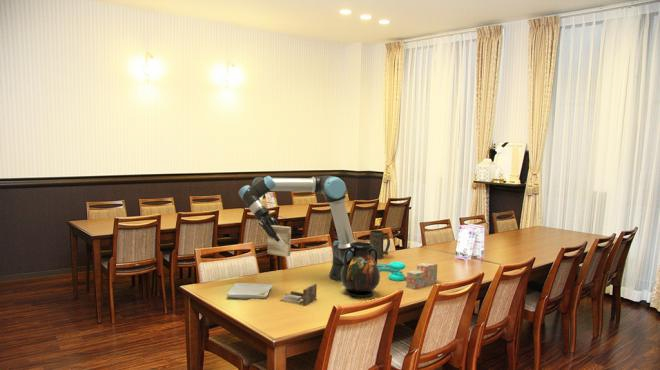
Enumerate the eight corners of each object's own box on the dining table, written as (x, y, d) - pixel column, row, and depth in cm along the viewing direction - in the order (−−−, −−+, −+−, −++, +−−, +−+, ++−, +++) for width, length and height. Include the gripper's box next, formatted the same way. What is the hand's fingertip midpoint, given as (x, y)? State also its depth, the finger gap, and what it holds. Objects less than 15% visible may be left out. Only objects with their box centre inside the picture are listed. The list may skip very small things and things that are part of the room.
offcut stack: (287, 298, 255) (287, 293, 255) (304, 302, 251) (304, 297, 251) (282, 301, 251) (282, 296, 251) (299, 304, 247) (299, 299, 247)
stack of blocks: (414, 290, 282) (415, 268, 281) (406, 287, 287) (407, 266, 286) (436, 283, 297) (437, 263, 296) (428, 281, 302) (429, 261, 301)
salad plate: (235, 288, 275) (235, 282, 275) (273, 289, 275) (273, 283, 274) (225, 300, 254) (225, 293, 254) (267, 302, 253) (267, 295, 253)
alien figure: (402, 275, 315) (396, 267, 335) (402, 271, 315) (397, 264, 335) (370, 274, 314) (367, 266, 334) (371, 271, 314) (367, 263, 334)
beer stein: (366, 258, 354) (369, 231, 353) (367, 255, 365) (370, 228, 363) (387, 261, 352) (391, 234, 350) (388, 258, 363) (391, 231, 361)
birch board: (270, 252, 265) (271, 224, 263) (290, 255, 259) (291, 227, 258) (267, 253, 261) (267, 225, 260) (286, 256, 256) (287, 228, 255)
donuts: (403, 265, 297) (387, 263, 300) (402, 282, 297) (386, 280, 301) (407, 262, 306) (391, 260, 309) (406, 278, 307) (390, 276, 310)
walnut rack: (291, 296, 263) (292, 279, 262) (317, 301, 256) (317, 284, 256) (279, 302, 252) (279, 285, 251) (305, 307, 245) (305, 290, 244)
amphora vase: (346, 301, 257) (348, 248, 255) (334, 289, 278) (336, 240, 275) (385, 299, 263) (387, 247, 261) (370, 287, 284) (372, 239, 281)
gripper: (264, 213, 273) (289, 246, 267) (246, 216, 258) (272, 252, 252) (272, 204, 270) (297, 238, 264) (254, 207, 255) (281, 243, 249)
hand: (285, 244), depth 258 cm, fingers closed on birch board, 3 cm apart
